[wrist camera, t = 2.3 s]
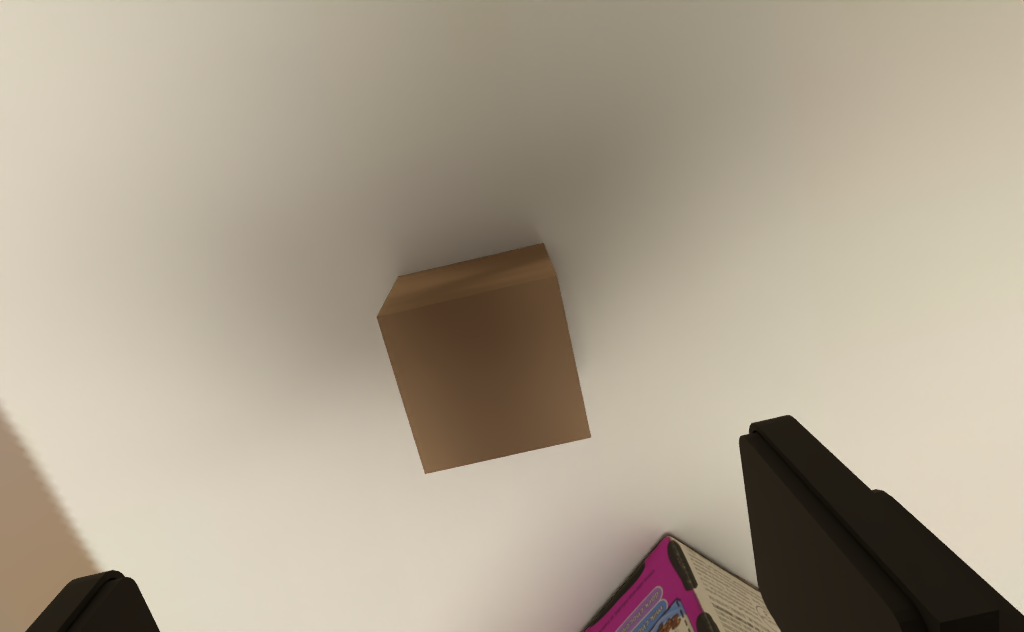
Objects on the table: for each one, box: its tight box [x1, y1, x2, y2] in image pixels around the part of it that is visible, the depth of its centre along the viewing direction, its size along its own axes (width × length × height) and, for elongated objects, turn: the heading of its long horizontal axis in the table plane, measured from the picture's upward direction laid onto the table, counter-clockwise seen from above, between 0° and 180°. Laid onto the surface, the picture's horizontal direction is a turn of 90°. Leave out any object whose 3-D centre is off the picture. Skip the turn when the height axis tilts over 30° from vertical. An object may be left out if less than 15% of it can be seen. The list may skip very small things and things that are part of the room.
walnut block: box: [377, 243, 591, 474], centre depth 18 cm, size 4×4×4 cm
